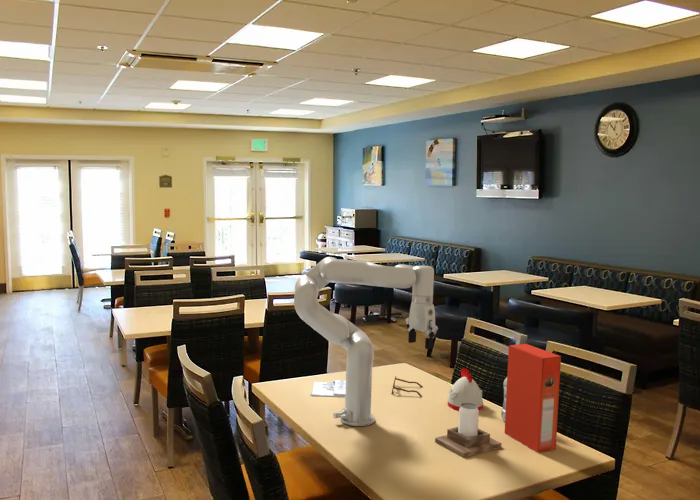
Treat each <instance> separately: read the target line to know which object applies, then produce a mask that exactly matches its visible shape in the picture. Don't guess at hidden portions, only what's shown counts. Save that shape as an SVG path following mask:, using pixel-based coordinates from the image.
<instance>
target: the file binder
mask: <svg viewBox="0 0 700 500" xmlns="http://www.w3.org/2000/svg"><path fill="white" fill-rule="evenodd" d="M507 356H508V357H507V375H506V377H507V393H506V413H505V421H504V434H505V435H507V436H509V437H510V438H512V439H514V440H515V441H517V442H519V443H521V444H522V445H524V446H526V447H527V448H529V449H531V450H532V451H534V452H535V453H543V452H549V451H554V450H557V432H558V418H559V417H558V415H559V412H558V411H559V399H560V398H559V397H560V381H561V380H560V379H561V364H562V363H561V362H562V359H561V358H562V356H561V355H559V354H555V353H553V352H550V351H548V350H544V349H542V348H540V347H536V346H534V345H530V344H528V343H520V344H512V345H508V355H507Z"/></svg>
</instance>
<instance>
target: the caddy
mask: <svg viewBox="0 0 700 500" xmlns="http://www.w3.org/2000/svg"><path fill="white" fill-rule="evenodd" d="M446 431H447V433H446V434H445V435H441V436H438V437H435V439H434V443H436V444H438V445H440V446H442V447H443V448H445V449H447V450H449V451H451V452H453V453H454V454H455V455H458V456H460V457H461V458H469V457H470V456H475V455H478V454H482V453H485V452H489V451H493V450H496V449H500V448H502V442H501V441H499V440H497V439H494V438H492V437H491V434H490V433H488V432H486V431H485V430H482V429H481V428H478V435H477V436H474V437H470V438H467V437H465V436H463V435H461V434H460V433H458V426H456V427H452V428H451V427H450V428H448V429H446Z"/></svg>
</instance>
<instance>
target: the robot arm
mask: <svg viewBox="0 0 700 500" xmlns="http://www.w3.org/2000/svg"><path fill="white" fill-rule="evenodd" d="M434 275H435V270H434V267H433V266H430V265H411V264H404V263H403V264H402V263H399V264H397V265H395V266H389V265H388V266H387V265H381V264H376V263H373V262H372V261H366V260H355V259H354V260H352V259H341V258H340V259H337V258H336V257H334V256H333V257H332V256H327V257H324V258H323V259H321V260H320V261H319V262H318V263H316V265H314V266H313V267H311V268H310V269H309V270H307V272H305V273H304V274H303V275H301V276H300V277H299V278H298V279H297V281H296V282H295V285H294V295H293V296H294V297H293V305H294V310H295V311H296V314H297V315H298V316H299V317H298V318H300V319H301V320H302V321H303V322H305V324H306V325H308V326H310V327H311V328H312V329H313V331H316V332H317V333H318V334H319V335H321V336H322V337H323V338H324V339H326V340H327V341H328V342H330V343H331V344H333V345H338V346H340V347H342V348H343V349H344V350H346V367H345V368H346V369H345V380H346V394H345V397H344V402H345V403H344V407H342V410H341V411H340V412H339V411H338V412H333V414H332V415H333V419H340V422H342V423H343V424H345V425H348V426H351V427H366V426H369V425H372V424H373V423H375V416H374V415H373V414H371V413H372V410H371V409H372V388H373V387H372V385H373V384H372V383H373V365H374V364H373V363H374V356H375V351H374V345H373V343H372V341H371V339H370V338H369V336H368V335H367V333H365V332H364V331H363V330H362V329H361V328H359V327H358V326H356V325H355V323H353V322H351V321H350V320H348V319H347V318H346V317H344V316H343V315H341V314H338V313H332V312H331V311H330V310H328V309H327V308H326V307H325V306H323V305H321V304H320V303H319V300H318V297H319V293H320V291H321V290H322V289H323V288H325V286H328V284H330V283H333V284H335V283H336V284H350V285H353V284H354V285H365V286H371V287H381V288H382V287H383V288H388V289H389V288H391V289H409V288H411V287H412V297H411V304H410V307H409V316H408V317H407V318H405V323H406V328H407V332H408V336H407V337H408V340H407V341H408V344H412V343H416V342H417V331H419V332H423V333H424V335H425V336H426V338H425V339H424V341H425V342H424V343H425V344H424V349H425V350H429V349H433V347H434V338H435V337H436V336H437V332H438V330H439V327H438V325H436V313H435V312H436V311H435V305H434V304H433V302H434V282H435V281H434V280H435V279H434V277H435V276H434Z"/></svg>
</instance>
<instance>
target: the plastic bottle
mask: <svg viewBox="0 0 700 500" xmlns="http://www.w3.org/2000/svg"><path fill="white" fill-rule="evenodd" d="M506 393H507V376H506V378H504V381H503V403H502V410H501V420H502V421H504V422H505V413H506Z"/></svg>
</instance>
